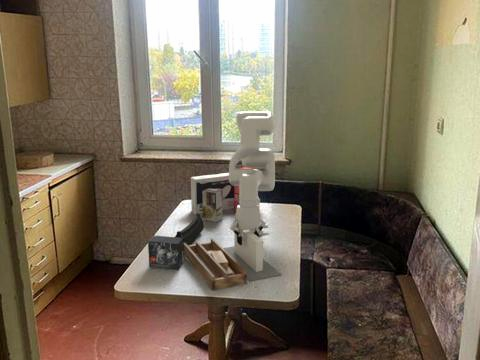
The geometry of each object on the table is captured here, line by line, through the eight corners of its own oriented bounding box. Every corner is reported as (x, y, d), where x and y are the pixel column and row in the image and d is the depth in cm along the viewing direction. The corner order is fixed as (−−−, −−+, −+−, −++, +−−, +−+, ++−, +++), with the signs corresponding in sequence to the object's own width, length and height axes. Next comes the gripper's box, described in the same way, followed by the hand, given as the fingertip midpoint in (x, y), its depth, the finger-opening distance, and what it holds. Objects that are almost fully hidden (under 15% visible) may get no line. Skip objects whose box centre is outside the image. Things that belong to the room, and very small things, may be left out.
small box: (148, 268, 197) (147, 241, 194) (154, 261, 203) (152, 235, 200) (179, 270, 195) (178, 243, 192) (183, 263, 201) (183, 237, 198)
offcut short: (221, 255, 203) (221, 250, 203) (228, 267, 192) (228, 262, 192) (210, 256, 202) (210, 251, 202) (217, 268, 191) (217, 263, 190)
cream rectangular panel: (240, 250, 214) (240, 223, 210) (262, 270, 194) (263, 240, 191) (234, 251, 212) (234, 224, 209) (256, 271, 193) (256, 241, 190)
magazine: (177, 239, 204) (200, 200, 228) (170, 238, 205) (194, 200, 229) (183, 269, 213) (204, 229, 237) (176, 268, 213) (198, 228, 238)
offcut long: (215, 256, 210) (215, 250, 209) (233, 279, 188) (233, 272, 188) (205, 257, 208) (205, 251, 208) (222, 281, 187) (222, 274, 186)
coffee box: (223, 219, 256) (223, 190, 252) (216, 222, 251) (216, 193, 247) (209, 216, 261) (209, 187, 257) (202, 219, 256) (202, 190, 252)
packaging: (195, 214, 263) (194, 179, 258) (191, 211, 269) (190, 177, 264) (244, 206, 277) (244, 173, 272) (239, 204, 282) (239, 171, 277)
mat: (245, 245, 221) (245, 244, 221) (281, 275, 191) (281, 274, 191) (217, 249, 216) (217, 249, 215) (250, 281, 186) (250, 280, 185)
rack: (213, 249, 216) (212, 238, 214) (246, 283, 184) (246, 270, 182) (183, 254, 210) (183, 243, 209) (212, 290, 178) (212, 277, 177)
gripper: (263, 197, 203) (262, 236, 208) (225, 202, 196) (225, 242, 201) (271, 202, 197) (270, 242, 201) (232, 207, 190) (232, 249, 194)
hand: (248, 242), depth 201 cm, fingers open, 7 cm apart
